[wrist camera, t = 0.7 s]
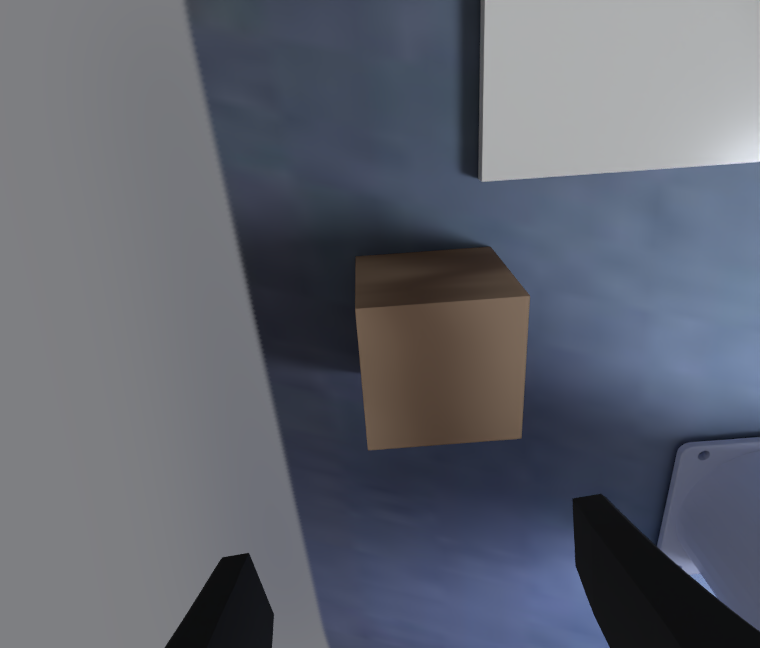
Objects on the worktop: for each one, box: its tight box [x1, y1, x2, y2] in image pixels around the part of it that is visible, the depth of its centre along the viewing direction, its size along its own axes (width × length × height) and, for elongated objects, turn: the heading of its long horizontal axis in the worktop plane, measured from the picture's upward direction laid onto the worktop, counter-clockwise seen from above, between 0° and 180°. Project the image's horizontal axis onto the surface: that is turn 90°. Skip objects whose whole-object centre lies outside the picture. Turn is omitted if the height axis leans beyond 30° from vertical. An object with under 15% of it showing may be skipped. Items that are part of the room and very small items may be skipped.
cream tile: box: [478, 0, 760, 182], centre depth 16 cm, size 10×10×1 cm
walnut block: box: [355, 247, 530, 450], centre depth 18 cm, size 5×5×5 cm
